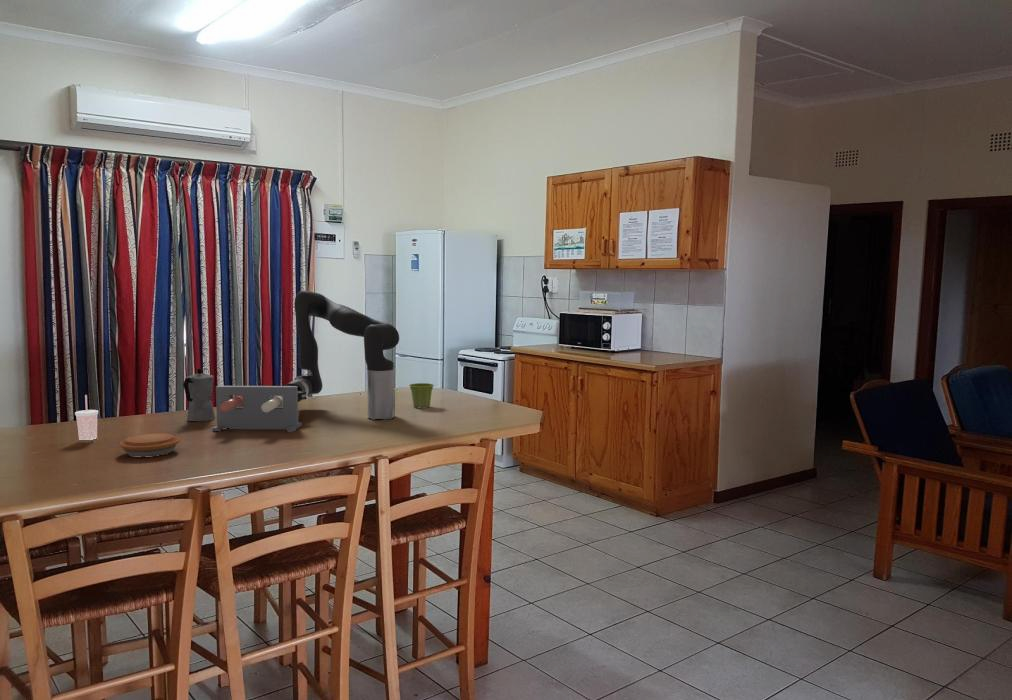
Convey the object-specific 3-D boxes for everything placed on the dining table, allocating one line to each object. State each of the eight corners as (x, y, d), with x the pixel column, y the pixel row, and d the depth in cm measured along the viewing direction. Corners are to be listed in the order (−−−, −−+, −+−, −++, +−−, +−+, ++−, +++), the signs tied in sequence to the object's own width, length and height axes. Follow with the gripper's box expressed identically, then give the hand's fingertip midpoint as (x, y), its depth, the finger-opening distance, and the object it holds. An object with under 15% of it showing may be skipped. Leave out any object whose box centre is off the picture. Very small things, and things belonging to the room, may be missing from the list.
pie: (109, 460, 200) (108, 442, 200) (134, 447, 216) (133, 430, 215) (168, 460, 201) (167, 442, 201) (188, 447, 217) (187, 430, 216)
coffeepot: (200, 415, 265) (198, 365, 263) (224, 416, 263) (222, 366, 261) (173, 423, 250) (171, 371, 248) (198, 425, 248) (196, 371, 246)
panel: (301, 425, 247) (300, 384, 246) (293, 432, 237) (292, 388, 236) (224, 425, 247) (222, 384, 246) (212, 431, 237) (210, 388, 236)
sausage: (249, 406, 246) (248, 392, 245) (232, 415, 231) (231, 399, 230) (234, 406, 246) (234, 392, 245) (217, 415, 231) (216, 399, 230)
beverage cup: (73, 443, 220) (70, 396, 218) (81, 439, 226) (78, 393, 224) (95, 442, 221) (92, 396, 219) (102, 438, 227) (100, 393, 226)
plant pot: (409, 405, 288) (409, 383, 287) (433, 404, 289) (433, 382, 289) (409, 409, 279) (409, 386, 278) (434, 409, 280) (434, 386, 279)
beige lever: (288, 406, 246) (287, 392, 245) (274, 415, 231) (273, 400, 230) (273, 406, 246) (273, 392, 245) (258, 415, 231) (258, 400, 230)
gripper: (276, 380, 262) (260, 388, 245) (313, 381, 262) (300, 388, 245) (277, 401, 263) (261, 410, 246) (314, 402, 263) (300, 410, 246)
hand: (280, 399), depth 246 cm, fingers closed
